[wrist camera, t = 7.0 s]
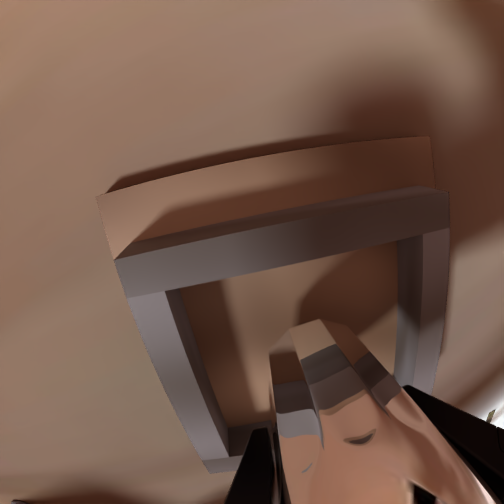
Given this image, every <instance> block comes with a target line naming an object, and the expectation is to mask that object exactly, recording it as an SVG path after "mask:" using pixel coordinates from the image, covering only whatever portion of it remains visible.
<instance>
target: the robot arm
mask: <svg viewBox="0 0 504 504" xmlns="http://www.w3.org/2000/svg"><path fill="white" fill-rule="evenodd" d="M402 388H403V389H404V390H405V391H406V393H407V394H408V395H409V396H410V397H411V398H412V399H413V401H414V402H415V403H416V404H417V405H418V406H419V407H420V409H421V410H422V411H423V412H424V413H425V414H426V415H427V417H428V418H429V419H430V420H431V421H432V422H433V423H434V424H435V425H436V427H437V428H438V429H439V430H440V431H441V432H442V433H443V434H444V435H445V436H446V437H447V438H448V439H449V440H450V442H451V443H452V444H453V445H454V446H455V447H456V448H457V449H458V450H459V451H460V452H461V453H462V455H463V456H464V457H465V458H466V459H467V460H468V461H469V462H470V463H471V464H472V465H473V467H474V468H475V469H476V470H477V471H478V472H479V473H480V474H481V475H482V476H483V478H484V479H485V480H486V481H487V482H488V483H489V484H490V485H491V486H492V488H493V489H494V490H495V491H496V492H497V493H498V494H499V495H500V496H501V498H502V499H503V500H504V429H502V428H500V427H497V428H496V426H495V425H493V424H490V423H488V422H486V421H484V420H482V419H479V418H477V417H475V416H473V415H471V414H469V413H467V412H464V411H462V410H460V409H458V408H456V407H454V406H452V405H450V404H448V403H445V402H443V401H441V400H439V399H437V398H435V397H433V396H431V395H429V394H427V393H425V392H423V391H421V390H419V389H417V388H415V387H413V386H411V385H404V386H402ZM224 504H278V487H277V476H276V465H275V456H274V451H273V446H272V442H271V439H270V435H269V431H268V428H267V427H260V428H255V429H253V430H252V432H251V435H250V437H249V440H248V443H247V445H246V448H245V451H244V453H243V456H242V459H241V461H240V464H239V467H238V469H237V472H236V474H235V477H234V479H233V482H232V484H231V487H230V489H229V492H228V494H227V497H226V499H225V502H224Z"/></svg>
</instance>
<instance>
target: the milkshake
mask: <svg viewBox="0 0 504 504" xmlns="http://www.w3.org/2000/svg"><path fill="white" fill-rule="evenodd" d="M267 382H268V392H269V403H270V413H271V424H272V434H273V444H274V455H275V465H276V476H277V487H278V504H504V500H503V499H502V498H501V496H500V495H499V494H498V493H497V492H496V491H495V490H494V489H493V488H492V486H491V485H490V484H489V483H488V482H487V481H486V480H485V479H484V478H483V476H482V475H481V474H480V473H479V472H478V471H477V470H476V469H475V468H474V467H473V465H472V464H471V463H470V462H469V461H468V460H467V459H466V458H465V457H464V456H463V455H462V453H461V452H460V451H459V450H458V449H457V448H456V447H455V446H454V445H453V444H452V443H451V442H450V440H449V439H448V438H447V437H446V436H445V435H444V434H443V433H442V432H441V431H440V430H439V429H438V428H437V427H436V425H435V424H434V423H433V422H432V421H431V420H430V419H429V418H428V417H427V415H426V414H425V413H424V412H423V411H422V410H421V409H420V407H419V406H418V405H417V404H416V403H415V402H414V401H413V399H412V398H411V397H410V396H409V395H408V394H407V393H406V391H405V390H404V389H403V388H402V387H401V386H400V385H399V383H398V382H397V381H396V380H395V379H394V378H393V377H392V375H391V374H390V373H389V372H388V371H387V370H386V369H385V367H384V366H383V365H382V364H381V363H380V362H379V361H378V360H377V358H376V357H375V356H374V355H373V354H372V353H371V352H370V351H369V349H368V348H367V347H366V346H365V345H364V344H363V343H362V342H361V340H360V339H359V338H358V337H357V336H356V335H355V334H354V333H353V332H352V330H351V329H350V328H349V327H348V326H347V325H344V324H340V323H336V322H332V321H328V320H324V319H320V318H319V319H316V320H313V321H310V322H307V323H304V324H301V325H298V326H295V327H292V328H289V329H288V330H287V331H286V332H285V333H284V335H283V336H282V337H281V338H280V339H279V340H278V341H277V342H276V343H275V345H274V346H273V347H272V348H271V349H270V350H269V353H268V370H267Z"/></svg>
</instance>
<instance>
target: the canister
mask: <svg viewBox="0 0 504 504" xmlns="http://www.w3.org/2000/svg"><path fill="white" fill-rule="evenodd" d="M11 504H28V503H25V502H22V501H12V502H11Z"/></svg>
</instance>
